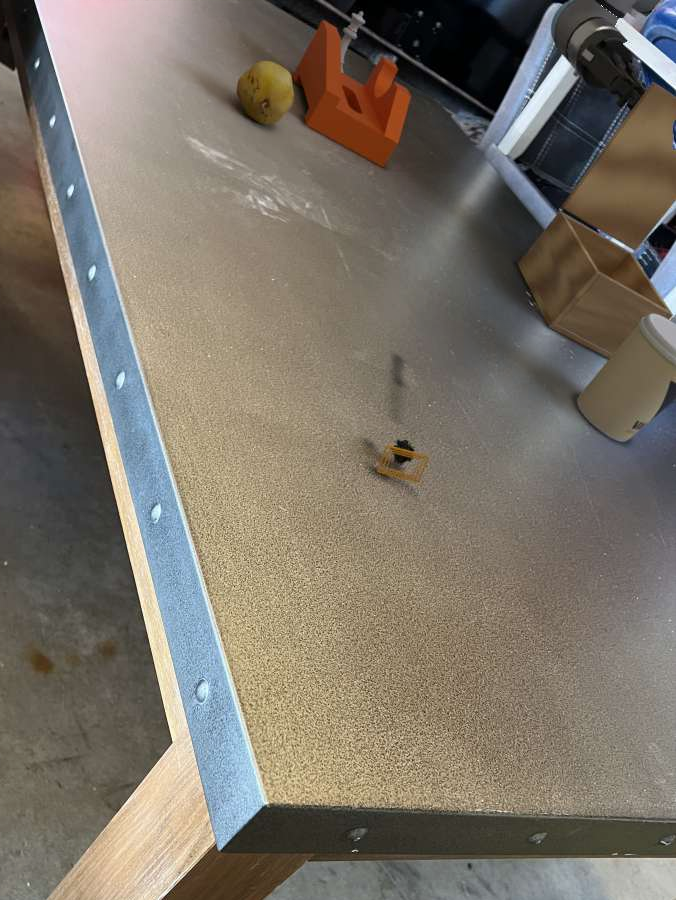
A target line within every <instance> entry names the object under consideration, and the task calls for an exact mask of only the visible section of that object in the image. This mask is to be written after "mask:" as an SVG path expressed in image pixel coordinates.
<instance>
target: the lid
mask: <svg viewBox="0 0 676 900" xmlns="http://www.w3.org/2000/svg"><path fill="white" fill-rule="evenodd" d="M650 84H651V85H650V86H649V87H648V89H647V90H646V91H645V93H644V94H643V95H642V97H641V98H640V100H639V101H638V102H637V104H636V105H635V106H634V108H633V109H632V111H631V110H630V112H629V113H628V114H627V116H626V118H625V119H624V120H623V121H622V122H621V124H620V126H619V127H618V128H617V130H616V131H615V132H614V133H613V135H612V136H611V138H610V139H609V140H608V142H607V143H606V144H605V146H604V147H603V149H602V150H601V152H600V153H599V155H598V156H597V157H596V158H595V159H594V161H593V162H592V164H591V165H590V166H589V168H588V169H587V170H586V172H585V173H584V175H583V176H582V177H581V179H580V180H579V181H578V183H577V184H576V186H575V187H574V189H573V190H572V191H571V192H570V194H569V195H568V197H567V198H566V199H565V200H564V202H563V204H562V205H561V208H562V209H563V210H565V211H566V212H568V213H570V214H572V215H573V216H575V217H577V219H580V220H581V221H584V222H585V223H587V224H588V225H590V226H592V227H594V228H596V229H597V230H598V231H601V232H602V233H603V234H606V235H607V236H609V237H611V238H612V239H614V240H615V241H617V242H619V243H621V244H623V245H624V246H625V247H627V248H630V250H633V251H637V250H638V249H639V247H640V246H641V245H642V244H643V242H644V241H645V240H646V239H647V238H648V237H649V235H650V233H651V232H652V231H653V230H654V229H655V227H656V226H657V225H658V224H659V222H660V221H661V220H662V218H663V217H664V216H665V215H666V213H668V211H669V210H670V209H671V207H672V206H673V205H674V204H675V202H676V150H675V149H674V147H673V141H674V134H673V125H674V122H675V120H676V96H675V95H674V94H672V93H670V92H669V91H668V90H666V89H665V88H663V87H662V86H660V85H659V84H657V83H656V82H654V81H651V83H650Z"/></svg>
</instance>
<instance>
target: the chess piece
mask: <svg viewBox="0 0 676 900" xmlns="http://www.w3.org/2000/svg"><path fill="white" fill-rule="evenodd" d="M363 16H364V12H363V10H361V11H359V12H358V13H357V14H356V13H355V12H352V13H351V22H350V24H349V25H348V26H347V27H343V29H342V32H343V33H344V35H343V37H342V38H341V72H342V73H344V68H343V65H344V64H345V60H344V59H345V55H346V52H347V50H348V48H349V46H350V43H351V41H352V40H356V39H357V38H358V35H357V32H358V29H359V28H360V27H361V26H363V25H365V24H366V21H365V19H364V18H363Z"/></svg>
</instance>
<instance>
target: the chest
mask: <svg viewBox="0 0 676 900" xmlns="http://www.w3.org/2000/svg"><path fill="white" fill-rule="evenodd" d="M517 266H518V269H519V271H520V273H521V275H522V276H523V278H524V281H525V283H526V285H527V287H528V289H529V290H530V292H531V295H532V296H533V299H534V300H535V303H536V305H537V307H538V309H539V311H540V313H541V315H542V317H543V319H544V321H545V323H546V325H547V327H548V328H549V329H551V330H553V331H555V332H557V333H559V334H561V335H562V336H564V337H566V338H567V339H570V340H572V341H574V342H576V343H578V344H579V345H582V346H583V347H586V348H587V349H589V350H591V351H593V352H595V353H597V354H599V355H601V356H603V357H605V358H607V359H608V360H609V359H610V357H611V356H612V355H613V354H614V353H615V351H616V350H617V349H618V348H619V347H620V345H621V344H622V343H623V342H624V341H625V339H626V338H627V337H628V336H629V335H630V334H631V332H632V331H633V330H634V329H635V328H636V327H637V326H638V324H639V321H640V320H641V319H642V318H643V317H647V316H648V315H649V314H658V315H660V316H663V317H665V318H666V319H668V320H670V319H671V318H672V317H673V316H674V314H673V313H672V311H671V309H670V308H669V306H668V305H667V303H666V301H665V300H664V299H663V298H662V296H661V294H660V293H659V292H658V290H657V288H656V286H655V285H654V284H653V282H652V281H651V279H650V278H649V276H648V275H647V273H646V271H645V270H644V269H643V268H642V266H641V264H640V262H638V260H637V258H636V257H635V255H634V254H633V252H631V251H629V250H628V249H626V248H625V247H622V245H619V244H618V243H616V242H614V241H613V240H611V239H609V238H607V237H606V236H604V235H603V234H601V233H599V232H597V231H595V230H594V229H593V228H590V227H589V226H587V225H585V224H584V223H583V222H581V221H578V220H577V219H575V218H573V217H571V216H570V215H568V214H567V213H565V212H563V211H562V210H559V211H558V212H557V213H556V215H555V216H554V217H553V219H551V221H550V222H549V223H548V225H547V226H546V227H545V229H544V230H543V231H542V232H541V234H540V235H539V236H538V238H537V239H536V240H535V241H534V242H533V244H532V245H531V246H530V247H529V249H528V250H527V252H525V253H524V255H523V256H522V258H521V259H520V260H519V261H518V263H517Z"/></svg>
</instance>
